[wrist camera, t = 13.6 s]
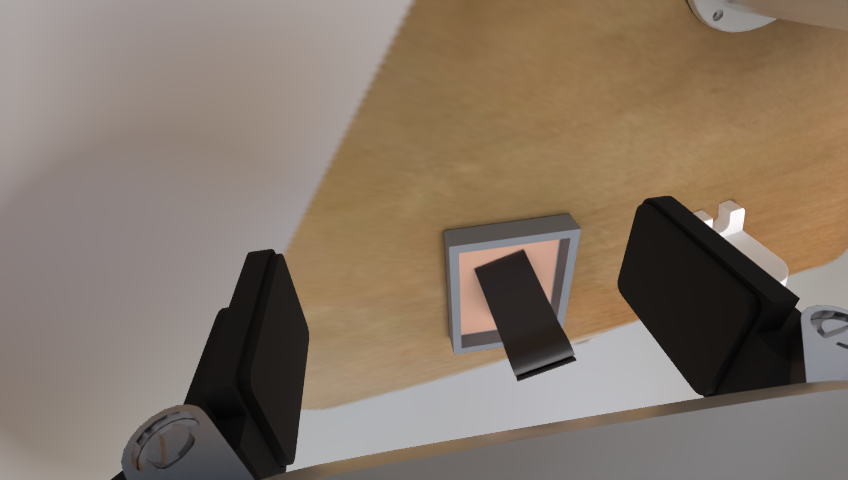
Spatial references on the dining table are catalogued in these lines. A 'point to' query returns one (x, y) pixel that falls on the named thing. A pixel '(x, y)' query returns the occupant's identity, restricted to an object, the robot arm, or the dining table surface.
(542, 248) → the grey tray
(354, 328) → the dining table surface
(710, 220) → the cable organizer
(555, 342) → the phone stand
